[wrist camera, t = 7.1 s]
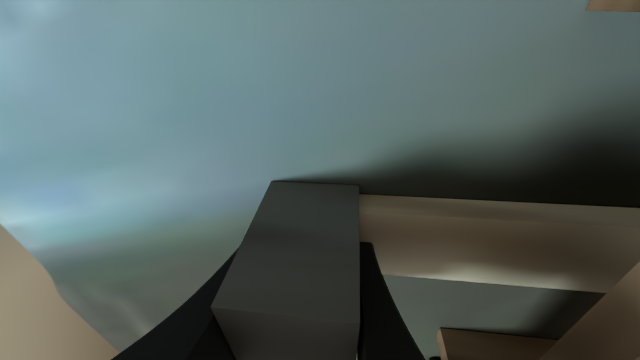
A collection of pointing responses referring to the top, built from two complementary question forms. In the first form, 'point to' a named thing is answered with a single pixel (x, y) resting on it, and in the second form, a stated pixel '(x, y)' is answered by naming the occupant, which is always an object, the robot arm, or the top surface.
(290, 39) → the top surface
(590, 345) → the walnut bench
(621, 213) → the ash handle hammer
